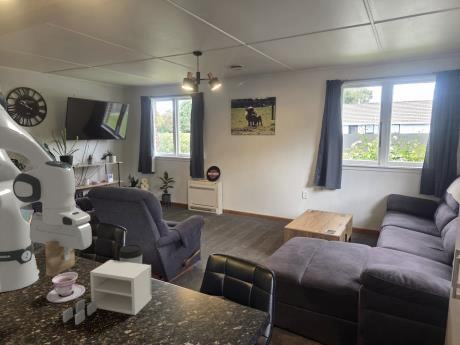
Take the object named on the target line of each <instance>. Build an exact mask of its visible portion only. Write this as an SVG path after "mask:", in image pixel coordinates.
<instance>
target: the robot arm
mask: <svg viewBox="0 0 460 345" xmlns="http://www.w3.org/2000/svg"><path fill="white" fill-rule="evenodd" d="M7 110H8V103H7V100H6V98H5V96H4V95H3V93H2V92H1V91H0V293H4V292H12V291H16V290H20V289H23V288H26V287H28V286H31V285H33V284H34V283H36V282H37V281H38V280H39V279H40V277H39V273H40V269H38V267H37V261H36V257H35V254H34V244H33V243H38V244H43V245H45V243H46V242H49V241H51V240H54V241H59V246H61V247H64V250H66V251H65V253H64V254H62V255H61V257H62V258H61V259H62V260H68V259H69V258H70V253H71V251H72V249H73V248H74V250H81V251H83V250H86V249H87V248H89V247H90V246H91V245H92V243H93V242H92V241H93V237H92V236H93V235H92V234H93V233H92V226H91V224H90V223H89V222H90V221H91V215H90V214H89V213H88V212H85V211H84V210H81V209H80V208H78V207H76V200H75V195H76V194H75V193H76V176H75V170H74V168H73V166H72V165H71V164H70V163H68V162H64V161H62V160H61V161H57V160H56V158H54V156H53V155H51V153H50V152H49V151H48V150H47V149H46V148H45V147H44V145H43V144H41V143H40V141H38V139H37V138H35V136H34V135H32V134H31V133H29V132H28V131H26V130H25V129H24V128H23V127H22V126H20V125H19V124H18V123H17V122H16V121H15V120H14V119H13V117H11V116H10V114H9V113H8V112H7ZM6 151H10V152H13V153H17V154H18V155H22V157H23V156H24V158H27V160H29V161H30V163H31V164H32V165H33V166H34V167H35V168H34V169H31V170H28V171H24V172H22V171H21V170H20V169H19V167H17V166H16V165H15V164H14V162H13V161H12V160H11V158H10V157H9V155H8V153H7V152H6ZM37 202H40V203H41V204H42V206H41V207H42V208H41V209H42V210H41V211H42V212H40V211H38V212H37V211H36V212H34V213H33V214H32V216H31V222H30V223H29V222H28V221H27V220H25V219H24V217H23V215H22V213H21V212H22V211H21V208H23V207H25V206H28V205H30V204H34V203H37Z"/></svg>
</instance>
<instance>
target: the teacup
mask: <svg viewBox="0 0 460 345" xmlns="http://www.w3.org/2000/svg"><path fill="white" fill-rule="evenodd" d="M78 277H79V274H78V272H76V271H75V272H74V271H67V272H63V273H62V272H61V273H59V274H57V275H55V276H53V278H52V279H51V282H52V283H53V284H54V285H53V289H52V290H50V291H49V292H48V293H47V294H46V300H47V301H48V302H52V303H59V304H60V303H65V302H69V301H73V300H75V299H78V298H79V297H81V296H83V295H84V293H85V291H86V287H85V286H84V285H83V284H82V285H81V284H78V283H77V284H75V283H76V280H77V279H78ZM72 292H73V293H72ZM59 295H61V296H59Z"/></svg>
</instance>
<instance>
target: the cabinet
mask: <svg viewBox="0 0 460 345" xmlns="http://www.w3.org/2000/svg"><path fill="white" fill-rule="evenodd" d="M89 276H90V277H89V278H90V294H91V296H90V297H91V300H90V301H91V302H90V303H88V304H87V305H86V301H85V298H81V299H79V301H77V302H76V303H75V313H76V314H74V309H73V307H71V306H70V307H69V308H66V309H65V310H64V311H63V312H62V323H67V322H68V321H69V320H71V319H72V318H74V322H75V323H74V324H75V325H80V324H81V323H82V322H83V321H84V320H86V315H85V314H86V313H85V311H86V310H87V316H91V315H92V314H93V313H94V312H96V311H97V309H100V310H106V311H111V312H117V313H121V314H128V315H132V316H136V315H137V314H138V313H139V312H140V311H141V310H142V309H143V308H144V307H145V306H146V305H147V304H148V303H149V302H151V300H152V298H153V297H152V296H153V295H152V264H146V263H142V264H138V263H131V262H123V261H120V260H117V259H116V260H114V259H109V260H107V261H105V262H104V263H102V264H101V265H99V266H97V267H95V268H94V269H92V270H91V271H89ZM86 308H87V309H86ZM85 309H86V310H85Z"/></svg>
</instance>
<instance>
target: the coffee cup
mask: <svg viewBox="0 0 460 345" xmlns="http://www.w3.org/2000/svg"><path fill="white" fill-rule="evenodd" d="M143 254H144V251H143V248H142V246H141V245H139V244H127V245H124V246H122V247H121V248H120V249H119V251H118V257H119V261H123V262H131V263H138V264H143Z"/></svg>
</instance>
